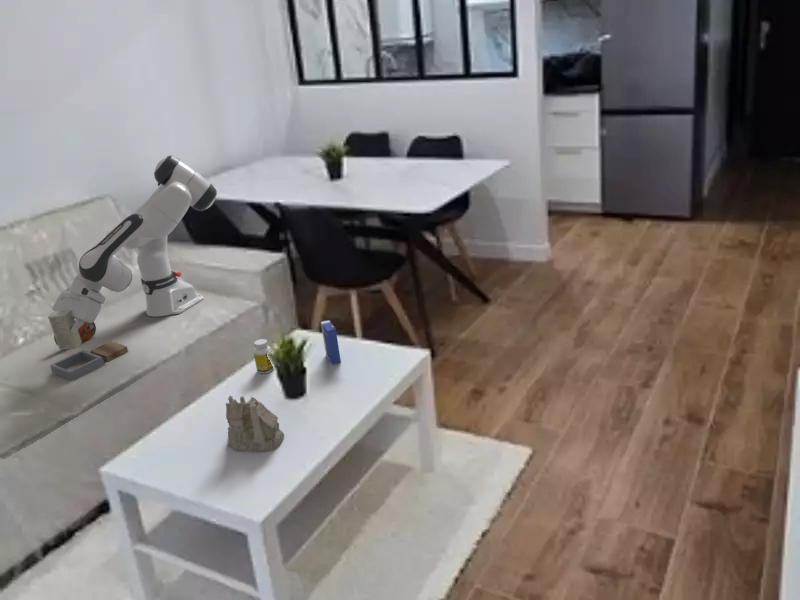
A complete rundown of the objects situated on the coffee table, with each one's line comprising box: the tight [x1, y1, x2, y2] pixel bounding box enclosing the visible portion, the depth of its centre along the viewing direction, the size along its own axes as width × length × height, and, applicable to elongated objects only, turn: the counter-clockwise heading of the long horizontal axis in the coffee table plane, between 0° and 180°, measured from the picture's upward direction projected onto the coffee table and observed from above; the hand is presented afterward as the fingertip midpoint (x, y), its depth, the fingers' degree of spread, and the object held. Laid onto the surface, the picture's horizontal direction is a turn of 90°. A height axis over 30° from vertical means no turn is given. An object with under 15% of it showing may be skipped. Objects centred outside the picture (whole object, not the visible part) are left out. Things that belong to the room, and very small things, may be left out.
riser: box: [89, 340, 129, 362], centre depth 256 cm, size 8×10×2 cm
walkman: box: [320, 319, 342, 365], centre depth 232 cm, size 8×3×12 cm, turn 20°
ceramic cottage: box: [225, 395, 285, 453], centre depth 196 cm, size 16×16×15 cm
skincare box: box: [47, 310, 83, 350], centre depth 242 cm, size 6×4×12 cm
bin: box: [49, 349, 105, 382], centre depth 247 cm, size 12×12×3 cm
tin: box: [53, 319, 97, 346], centre depth 266 cm, size 15×3×8 cm, turn 143°
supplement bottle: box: [253, 338, 274, 374], centre depth 231 cm, size 5×5×10 cm
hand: (65, 330), depth 242 cm, fingers closed on skincare box, 7 cm apart
